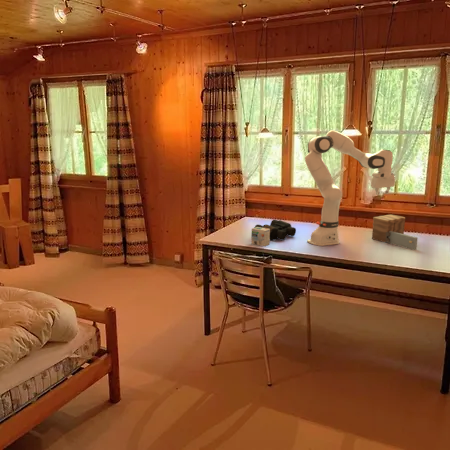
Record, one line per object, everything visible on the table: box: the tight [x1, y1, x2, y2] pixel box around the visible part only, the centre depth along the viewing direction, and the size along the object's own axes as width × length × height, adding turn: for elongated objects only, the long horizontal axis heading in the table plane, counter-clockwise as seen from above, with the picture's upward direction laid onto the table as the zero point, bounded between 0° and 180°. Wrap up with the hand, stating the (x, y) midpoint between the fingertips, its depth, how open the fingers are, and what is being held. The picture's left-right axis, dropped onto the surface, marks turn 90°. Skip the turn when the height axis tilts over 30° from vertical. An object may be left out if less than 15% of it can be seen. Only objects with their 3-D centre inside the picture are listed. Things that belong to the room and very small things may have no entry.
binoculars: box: [253, 219, 297, 241], centre depth 315 cm, size 29×20×10 cm
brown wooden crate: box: [371, 213, 406, 243], centre depth 306 cm, size 20×15×15 cm
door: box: [387, 231, 418, 251], centre depth 290 cm, size 20×4×8 cm, turn 32°
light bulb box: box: [250, 226, 270, 247], centre depth 295 cm, size 11×7×11 cm, turn 56°
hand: (382, 193), depth 302 cm, fingers open, 8 cm apart
